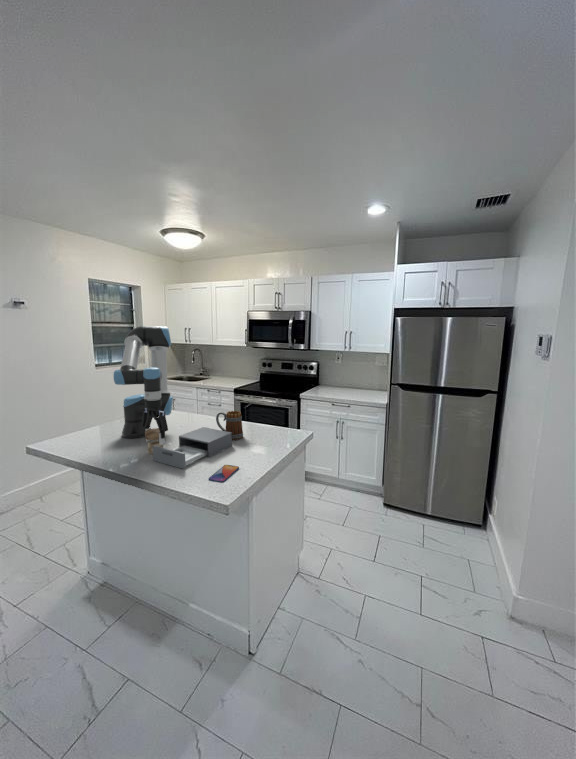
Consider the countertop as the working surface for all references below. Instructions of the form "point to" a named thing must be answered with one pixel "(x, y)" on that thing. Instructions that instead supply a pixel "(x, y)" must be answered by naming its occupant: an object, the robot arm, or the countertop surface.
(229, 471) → the smartphone
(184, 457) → the gray drawer
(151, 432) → the tan flat lump
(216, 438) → the grey drawer box
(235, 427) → the mug
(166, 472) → the countertop surface
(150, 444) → the block
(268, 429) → the countertop surface
